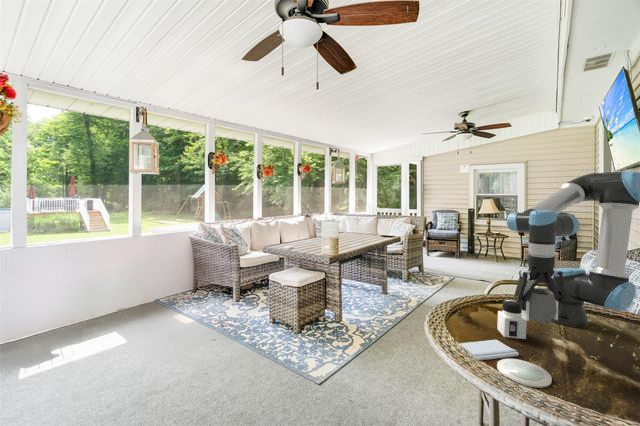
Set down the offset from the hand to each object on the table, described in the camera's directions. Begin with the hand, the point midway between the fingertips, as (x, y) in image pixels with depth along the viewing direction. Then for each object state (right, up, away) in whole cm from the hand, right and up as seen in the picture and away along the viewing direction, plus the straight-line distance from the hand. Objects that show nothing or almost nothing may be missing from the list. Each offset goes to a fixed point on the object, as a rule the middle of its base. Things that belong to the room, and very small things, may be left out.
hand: (539, 318), depth 108 cm
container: (-1, -11, +14) cm, 18 cm away
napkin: (-18, -12, +1) cm, 21 cm away
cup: (0, 0, 0) cm, 0 cm away
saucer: (-14, -12, -13) cm, 23 cm away
